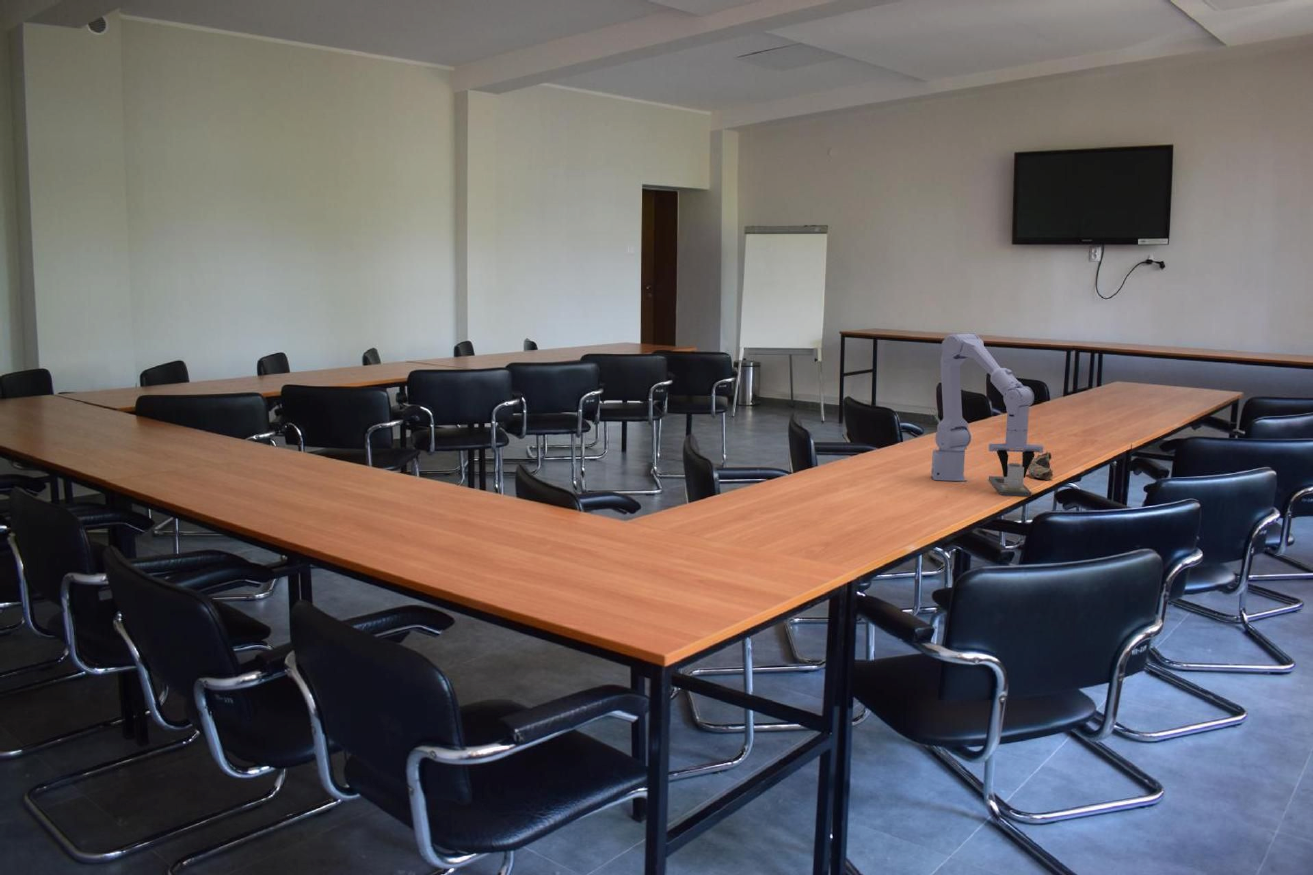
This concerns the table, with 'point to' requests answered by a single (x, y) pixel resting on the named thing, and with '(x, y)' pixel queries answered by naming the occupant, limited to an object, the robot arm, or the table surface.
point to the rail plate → (1008, 488)
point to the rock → (1041, 467)
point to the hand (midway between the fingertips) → (1014, 476)
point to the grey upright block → (1014, 475)
